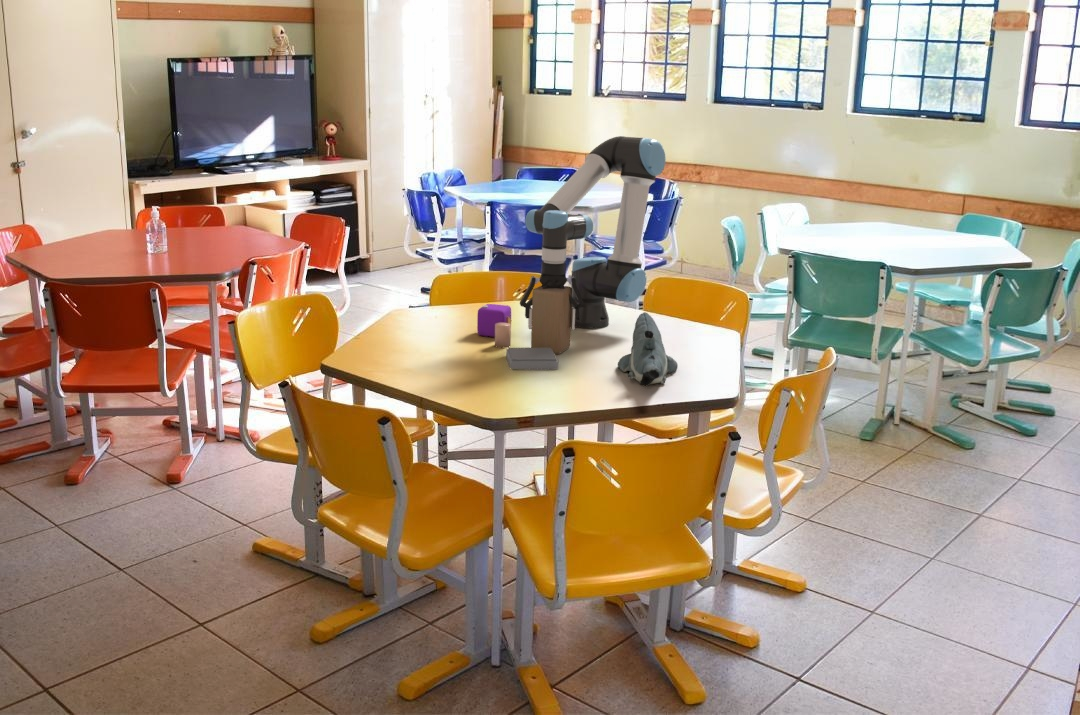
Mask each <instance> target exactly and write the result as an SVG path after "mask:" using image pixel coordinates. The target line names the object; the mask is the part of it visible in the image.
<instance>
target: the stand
mask: <svg viewBox="0 0 1080 715" xmlns="http://www.w3.org/2000/svg"><path fill="white" fill-rule="evenodd" d="M505 349H506V353H505V354H506V356H505V357H506V360H507V363H508V367H509V369H510V368H511V369H532V370H558V369H559V360H558V359H557V357H556V354H554V352H553V350H552V349H551V348H531V347H508V348H505ZM511 369H510V370H511Z"/></svg>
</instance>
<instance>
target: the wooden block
mask: <svg viewBox="0 0 1080 715" xmlns="http://www.w3.org/2000/svg"><path fill="white" fill-rule="evenodd" d="M541 286H542V285H540V286H537V287H534V288H533V290H532V296H531V297H532V306H531V308H532V329H531V337H530V339H531V340H530V348H551V349H552V350H553V352H554V354H555V355H559V354H562V353H564V352H565V351H566V350H568V349H569V348H570V347H571V332H572V329H571V309H572V303H571V302H570V301H569V294H570V296H571V297H572V288H571V287H570V286H569V285H568V286H567V285H564V286H563V287H564V288H565V289H560V288H547V289H542V288H543V287H541Z"/></svg>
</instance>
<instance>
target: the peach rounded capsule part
mask: <svg viewBox="0 0 1080 715" xmlns="http://www.w3.org/2000/svg"><path fill="white" fill-rule="evenodd" d="M511 332H512V323H511V324H509V323H496V324H495V337H494V347H495V346H497V347H496V348H498V347H508V348H510V347H511V342H512V340H511V338H512V336H511V335H512V333H511ZM509 346H510V347H509Z"/></svg>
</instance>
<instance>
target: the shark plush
mask: <svg viewBox="0 0 1080 715" xmlns="http://www.w3.org/2000/svg"><path fill="white" fill-rule="evenodd" d="M658 327H659V326H658V325H657V323H656V321H655V320H654V318H653V317H652V316H651V315H650V314H649V313H648V312H646V311H644V312H642V313H640V314H639V316H638V317H636V322H635V323H634V328H633V333H632V346H631V349H630V352H631V353H629V354H626V355H623V356H621V358H620V359H619V360H618V362H617V368H618V369H620V368H621V369H620V370H621V371H622V372H624V373H625V372H629V373H628V374H627V376H628V377H629V379H631V380H632V379H634V380H635V381H637V382H639V384H640V386H643V387H648V386H649V385H654V384H658V383H659V384H661V385H663V384H665V383H666V381H667V377H666V375H667V373H669V374H670V373H672V372H673V371H674V372H676V371H677V370H678V368H679V365H678V362H677V360H675V359H674V358H673V357H672V356H669V355H667V353H666V349H665V345H664V343H663V339H662V334H661V331H660V330H659V328H658Z"/></svg>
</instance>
